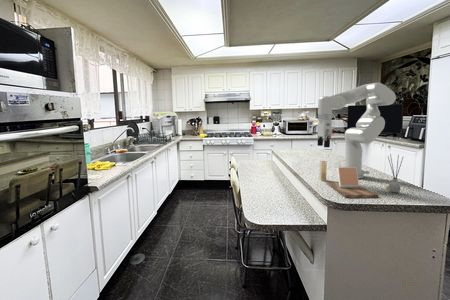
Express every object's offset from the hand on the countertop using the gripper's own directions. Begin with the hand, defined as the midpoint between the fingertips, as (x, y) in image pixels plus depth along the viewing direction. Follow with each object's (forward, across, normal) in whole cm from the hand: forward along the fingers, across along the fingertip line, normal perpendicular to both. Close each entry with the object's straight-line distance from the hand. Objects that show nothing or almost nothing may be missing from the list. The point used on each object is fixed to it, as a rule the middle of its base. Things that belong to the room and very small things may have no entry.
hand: (323, 146), depth 141 cm
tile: (+20, -18, -8) cm, 28 cm away
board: (+22, -18, -8) cm, 29 cm away
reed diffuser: (+22, -21, -28) cm, 41 cm away
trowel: (+22, 0, -1) cm, 22 cm away
